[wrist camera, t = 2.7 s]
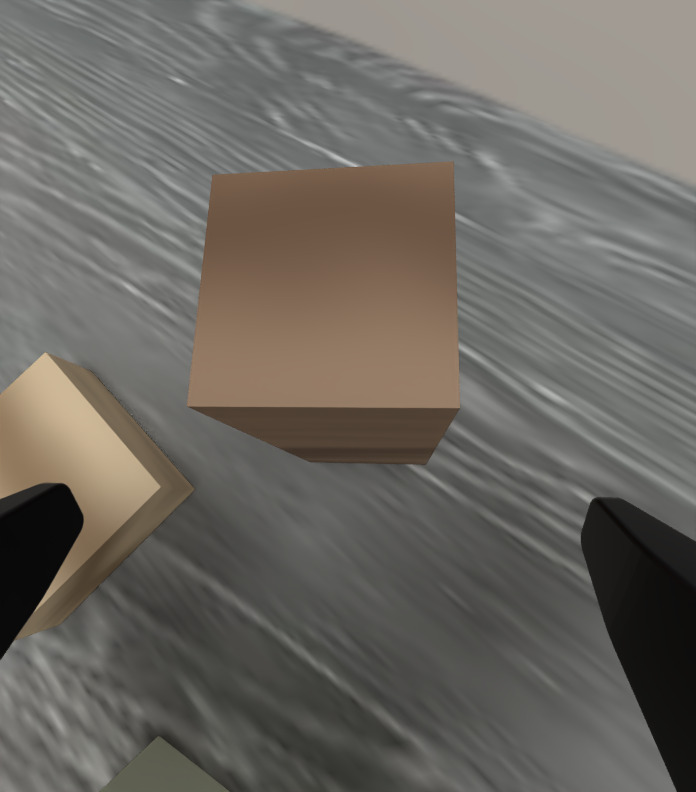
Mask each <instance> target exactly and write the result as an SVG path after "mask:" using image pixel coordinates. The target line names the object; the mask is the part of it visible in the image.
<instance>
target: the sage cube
mask: <svg viewBox="0 0 696 792" xmlns="http://www.w3.org/2000/svg"><path fill="white" fill-rule="evenodd" d="M100 792H230V791H229V790H227V789H226V788H225V787H223V786H222V785H221V784H220V783H218V782H217V781H216V780H215V779H213V778H212V777H211V776H210V775H208V774H207V773H206V772H204V771H203V770H202V769H201V768H199V767H198V766H197V765H196V764H194V763H193V762H192V761H190V760H189V759H188V758H187V757H185V756H184V755H183V754H182V753H180V752H179V751H178V750H176V749H175V748H174V747H173V746H171V745H170V744H169V743H168V742H166V741H165V740H164V739H162V738H161V737H160V736H158V737H157V738H156V739H154V740H153V741H152V742H151V743H150V744H149V745H148V746H147V747H146V748H145V749H144V750H143V751H142V752H141V753H140V754H139V755H138V756H137V757H136V758H134V759H133V760H132V761H131V762H130V763H129V764H128V765H127V766H126V767H125V768H124V769H123V770H122V771H121V772H120V773H119V774H118V775H117V776H116V777H114V778H113V779H112V780H111V781H110V782H109V783H108V784H107V785H106V786H105V787H104V788H103V789H102V790H101V791H100Z"/></svg>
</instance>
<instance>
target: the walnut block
mask: <svg viewBox="0 0 696 792" xmlns="http://www.w3.org/2000/svg"><path fill="white" fill-rule="evenodd" d="M187 407H189V408H191V409H194V410H196V411H198V412H200V413H203V414H205V415H207V416H209V417H211V418H214V419H216V420H218V421H220V422H222V423H225V424H227V425H229V426H231V427H234V428H236V429H238V430H240V431H242V432H245V433H247V434H249V435H251V436H253V437H256V438H258V439H260V440H262V441H265V442H267V443H269V444H271V445H273V446H276V447H278V448H280V449H282V450H284V451H287V452H289V453H291V454H293V455H296V456H298V457H300V458H302V459H304V460H307V461H309V462H325V463H374V464H423V465H426V463H427V462H428V460H429V458H430V457H431V455H432V453H433V452H434V450H435V448H436V447H437V445H438V443H439V442H440V440H441V439H442V437H443V435H444V434H445V432H446V430H447V429H448V427H449V425H450V424H451V422H452V420H453V419H454V417H455V415H456V414H457V412H458V410H459V409H460V393H459V353H458V314H457V274H456V235H455V195H454V162H436V163H418V164H400V165H382V166H364V167H346V168H328V169H310V170H292V171H274V172H256V173H238V174H220V175H212V184H211V193H210V202H209V211H208V220H207V229H206V238H205V247H204V256H203V265H202V274H201V283H200V292H199V301H198V311H197V320H196V329H195V338H194V347H193V356H192V365H191V374H190V383H189V392H188V401H187Z"/></svg>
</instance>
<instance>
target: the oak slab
mask: <svg viewBox="0 0 696 792" xmlns="http://www.w3.org/2000/svg"><path fill="white" fill-rule="evenodd" d="M45 482H48V483H64V484H66V485H67V486H68V487H69V488H70V489H71V491H72V493H73V495H74V497H75V499H76V501H77V503H78V505H79V507H80V509H81V511H82V513H83V515H84V524H83V528H82V530H81V532H80V534H79V536H78V538H77V540H76V541H75V543H74V545H73V547H72V548H71V550H70V552H69V554H68V555H67V557H66V559H65V561H64V562H63V564H62V566H61V568H60V569H59V571H58V573H57V575H56V576H55V578H54V580H53V582H52V584H51V585H50V587H49V589H48V590H47V592H46V594H45V595H44V597H43V599H42V600H41V602H40V603H39V605H38V606H37V608H36V609H35V611H34V612H33V614H32V615H31V617H30V618H29V620H28V621H27V623H26V624H25V625H24V627H23V628H22V630H21V631H20V633H19V634H18V635H17V637H16V638H15V640H17V639H20V638H23V637H26V636H29V635H32V634H34V633H37V632H40V631H43V630H46V629H48V628H51V627H54V626H57V625H60V624H61V623H62V622H63V621H64V620H65V619H66V618H67V617H68V616H69V615H70V614H71V613H72V612H73V611H74V610H75V609H76V608H77V607H78V606H79V605H80V604H81V603H82V602H83V601H84V600H85V599H86V598H87V597H88V596H89V595H90V594H91V593H92V592H93V591H94V590H95V589H96V588H97V587H98V586H99V585H100V584H101V583H102V582H103V581H104V580H105V579H106V578H107V577H108V576H109V575H110V574H111V573H112V572H113V571H114V570H115V569H116V568H117V567H118V566H119V565H120V564H121V563H122V562H123V561H124V560H125V559H126V558H127V557H128V556H129V555H130V554H131V553H132V552H133V551H134V550H135V549H136V548H137V547H138V546H139V545H140V544H141V543H142V542H143V541H144V540H145V539H146V538H147V537H148V536H149V535H150V534H151V533H152V532H153V531H154V530H155V529H156V528H157V527H158V526H159V525H160V524H161V523H162V522H163V521H164V520H165V519H166V518H167V517H168V516H169V515H170V514H171V513H172V512H173V511H174V510H175V509H176V508H177V507H178V506H179V505H180V504H181V503H182V502H183V501H184V500H185V499H186V498H187V497H188V496H189V495H190V494H191V493H192V492H193V491H194V490H195V489H194V488H193V486H192V485H191V484H190V483H189V482H188V481H187V480H186V478H185V477H184V476H183V475H182V474H181V473H180V472H179V470H178V469H177V468H176V467H175V466H174V465H173V464H172V463H171V461H170V460H169V459H168V458H167V457H166V456H165V455H164V453H163V452H162V451H161V450H160V449H159V448H158V447H157V445H156V444H155V443H154V442H153V441H152V440H151V439H150V437H149V436H148V435H147V434H146V433H145V432H144V431H143V429H142V428H141V427H140V426H139V425H138V424H137V423H136V421H135V420H134V419H133V418H132V417H131V416H130V415H129V413H128V412H127V411H126V410H125V409H124V408H123V407H122V405H121V404H120V403H119V402H118V401H117V400H116V399H115V397H114V396H113V395H112V394H111V393H110V392H109V391H108V390H107V388H106V387H105V386H104V385H103V384H102V383H101V382H100V380H99V379H98V378H97V377H96V376H95V375H94V374H93V372H91V371H89V370H87V369H84V368H82V367H80V366H77V365H75V364H73V363H70V362H68V361H66V360H63V359H61V358H58V357H56V356H54V355H51V354H49V353H47V352H45V353H44V354H43V355H42V356H41V357H40V358H39V359H38V360H37V361H36V362H35V363H34V364H32V365H31V366H30V367H29V368H28V369H27V370H26V371H25V372H24V373H23V374H22V375H21V376H20V377H18V378H17V379H16V380H15V381H14V382H13V383H12V384H11V385H10V386H9V387H8V388H7V389H6V390H5V391H3V392H2V393H1V394H0V499H1V498H4V497H6V496H9V495H12V494H14V493H17V492H19V491H22V490H24V489H27V488H30V487H32V486H35V485H37V484H41V483H45ZM15 640H14V641H15Z"/></svg>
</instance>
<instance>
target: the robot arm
mask: <svg viewBox="0 0 696 792" xmlns="http://www.w3.org/2000/svg"><path fill="white" fill-rule="evenodd" d="M83 524H84V515H83V513H82V511H81V509H80V507H79V505H78V503H77V501H76V499H75V497H74V495H73V493H72V491H71V489H70V488H69V487H68V486H67V485H66V484H64V483H48V482H45V483H41V484H37V485H35V486H32V487H30V488H27V489H24V490H22V491H19V492H17V493H14V494H12V495H9V496H6V497H4V498H1V499H0V660H1V658H2V657H3V656H4V654H5V653H6V651H7V650H8V648H9V647H10V646H11V644H12V643H13V641H14V640H15V638H16V637H17V635H18V634H19V633H20V631H21V630H22V628H23V627H24V625H25V624H26V623H27V621H28V620H29V618H30V617H31V615H32V614H33V612H34V611H35V609H36V608H37V606H38V605H39V603H40V602H41V600H42V599H43V597H44V595H45V594H46V592H47V590H48V589H49V587H50V585H51V584H52V582H53V580H54V578H55V576H56V575H57V573H58V571H59V569H60V568H61V566H62V564H63V562H64V561H65V559H66V557H67V555H68V554H69V552H70V550H71V548H72V547H73V545H74V543H75V541H76V540H77V538H78V536H79V534H80V532H81V530H82V528H83ZM581 546H582V551H583V554H584V557H585V561H586V564H587V567H588V570H589V574H590V577H591V580H592V583H593V587H594V590H595V593H596V597H597V600H598V603H599V606H600V610H601V613H602V616H603V619H604V622H605V625H606V628H607V631H608V634H609V637H610V639H611V641H612V644H613V646H614V649H615V651H616V653H617V656H618V658H619V660H620V663H621V665H622V667H623V669H624V672H625V674H626V676H627V679H628V681H629V683H630V685H631V688H632V690H633V692H634V695H635V697H636V699H637V702H638V704H639V706H640V708H641V711H642V713H643V715H644V718H645V720H646V722H647V724H648V727H649V729H650V731H651V734H652V736H653V738H654V740H655V743H656V745H657V747H658V750H659V752H660V754H661V756H662V759H663V761H664V763H665V766H666V768H667V770H668V772H669V775H670V777H671V779H672V782H673V784H674V786H675V788H676V791H677V792H696V541H694V540H692V539H691V538H689V537H687V536H685V535H684V534H682V533H680V532H679V531H677V530H675V529H673V528H672V527H670V526H668V525H667V524H665V523H663V522H661V521H660V520H658V519H656V518H655V517H653V516H651V515H649V514H648V513H646V512H644V511H642V510H641V509H639V508H637V507H636V506H634V505H632V504H630V503H629V502H627V501H625V500H623V499H621V498H611V497H596V498H594V499H593V500H592V501H591V503H590V505H589V509H588V512H587V515H586V519H585V522H584V525H583V528H582V532H581Z"/></svg>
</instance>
